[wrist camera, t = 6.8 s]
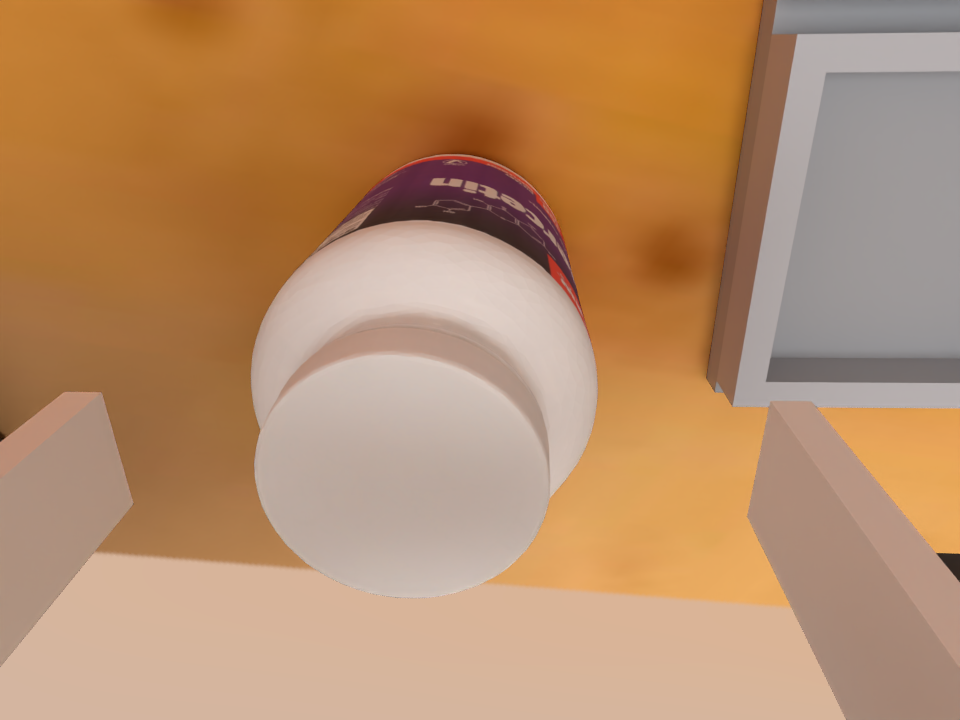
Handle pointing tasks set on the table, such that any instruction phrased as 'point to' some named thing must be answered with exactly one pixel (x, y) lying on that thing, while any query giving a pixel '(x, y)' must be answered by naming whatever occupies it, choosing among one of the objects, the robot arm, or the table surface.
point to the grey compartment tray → (846, 211)
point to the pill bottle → (424, 383)
